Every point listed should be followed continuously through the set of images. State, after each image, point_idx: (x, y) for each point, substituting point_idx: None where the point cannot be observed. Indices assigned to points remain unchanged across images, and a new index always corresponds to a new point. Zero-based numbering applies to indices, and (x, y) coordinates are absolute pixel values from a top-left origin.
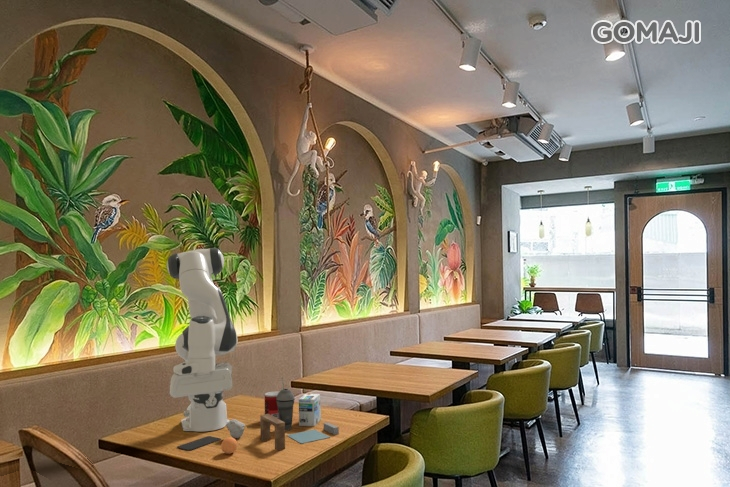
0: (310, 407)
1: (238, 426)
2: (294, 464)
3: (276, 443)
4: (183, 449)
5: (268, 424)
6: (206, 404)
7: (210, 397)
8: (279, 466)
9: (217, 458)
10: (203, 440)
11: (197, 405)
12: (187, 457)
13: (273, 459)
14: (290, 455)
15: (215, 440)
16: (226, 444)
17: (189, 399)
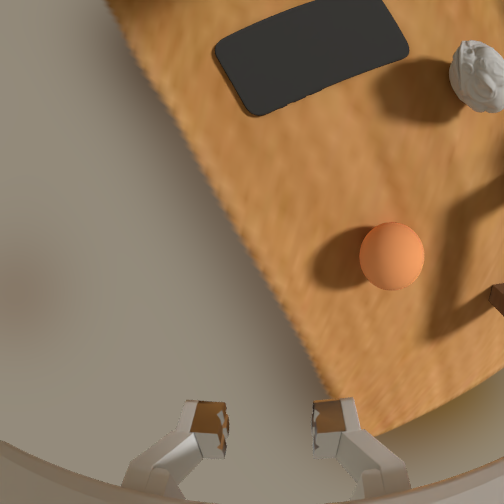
0: None
1: (493, 106)
2: (446, 399)
3: (500, 306)
4: (234, 86)
5: None
6: (314, 420)
7: (358, 465)
8: (419, 399)
9: (327, 270)
10: (339, 25)
11: (224, 443)
12: (229, 194)
13: (441, 358)
14: (481, 349)
15: (385, 57)
16: (375, 283)
17: (145, 455)
